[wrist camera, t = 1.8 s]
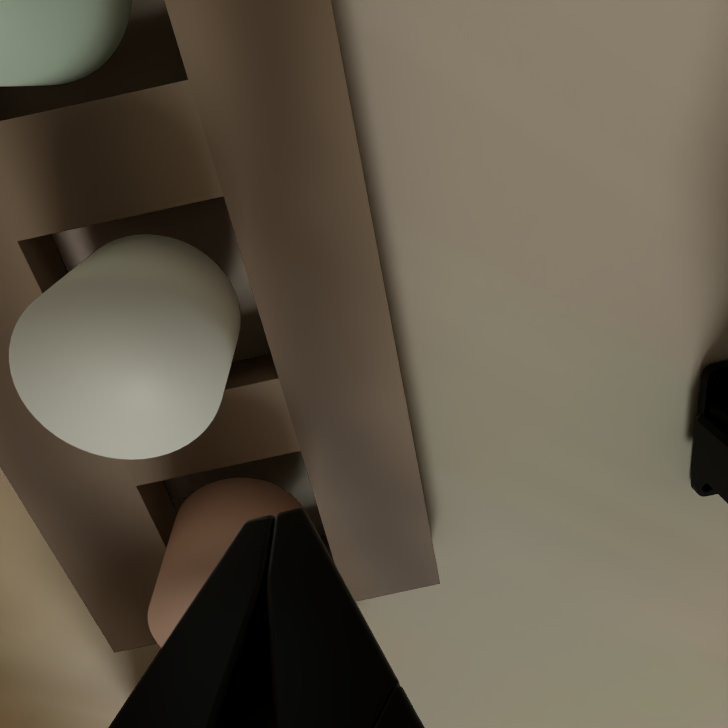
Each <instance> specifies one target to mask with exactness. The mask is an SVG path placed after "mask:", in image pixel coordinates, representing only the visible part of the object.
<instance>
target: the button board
mask: <svg viewBox="0 0 728 728" xmlns="http://www.w3.org/2000/svg"><path fill="white" fill-rule="evenodd" d="M164 1H165V4H166V8H167V11H168V14H169V18H170V21H171V24H172V27H173V31H174V34H175V37H176V41H177V44H178V47H179V51H180V54H181V57H182V60H183V64H184V67H185V70H186V74H187V77H188V80H185V81H180V82H176V83H171V84H167V85H162V86H158V87H153V88H148V89H144V90H139V91H135V92H130V93H126V94H121V95H117V96H112V97H108V98H103V99H98V100H94V101H89V102H85V103H80V104H76V105H71V106H67V107H62V108H58V109H53V110H48V111H44V112H39V113H35V114H30V115H26V116H21V117H17V118H12V119H8V120H3V121H0V467H1V469H2V470H3V472H4V473H5V475H6V477H7V478H8V480H9V482H10V483H11V485H12V486H13V488H14V490H15V491H16V493H17V495H18V496H19V498H20V499H21V501H22V503H23V504H24V506H25V508H26V509H27V511H28V513H29V514H30V516H31V517H32V519H33V521H34V522H35V524H36V526H37V527H38V529H39V530H40V532H41V534H42V535H43V537H44V539H45V540H46V542H47V543H48V545H49V547H50V548H51V550H52V552H53V553H54V555H55V556H56V558H57V560H58V561H59V563H60V565H61V566H62V568H63V569H64V571H65V573H66V574H67V576H68V578H69V579H70V581H71V582H72V584H73V586H74V587H75V589H76V591H77V592H78V594H79V595H80V597H81V599H82V600H83V602H84V604H85V605H86V607H87V608H88V610H89V612H90V613H91V615H92V617H93V618H94V620H95V622H96V623H97V625H98V626H99V628H100V630H101V631H102V633H103V635H104V636H105V638H106V639H107V641H108V643H109V644H110V646H111V648H112V649H113V651H114V652H119V651H124V650H129V649H133V648H138V647H143V646H148V645H152V644H157V642H156V640H155V639H154V637H153V636H152V634H151V631H150V629H149V625H148V609H149V605H150V602H151V598H152V595H153V592H154V588H155V585H156V582H157V578H158V575H159V572H160V568H161V565H162V562H163V558H164V555H165V552H166V548H167V545H168V542H169V538H170V535H171V532H172V528H173V525H174V522H175V518H176V516H177V512H176V509H175V507H174V505H173V503H172V501H171V498H170V496H169V494H168V492H167V490H166V487H165V485H164V483H163V481H162V480H167V479H172V478H176V477H181V476H186V475H190V474H195V473H200V472H204V471H209V470H214V469H218V468H223V467H228V466H232V465H237V464H242V463H246V462H251V461H256V460H260V459H265V458H270V457H274V456H279V455H284V454H288V453H293V452H298V451H301V454H302V457H303V460H304V464H305V467H306V470H307V474H308V477H309V480H310V484H311V487H312V490H313V493H314V497H315V500H316V503H317V507H318V510H319V513H320V517H321V520H322V523H323V526H324V530H325V533H326V536H324V537H320V538H321V540H322V541H323V543H324V545H325V547H326V549H327V551H328V552H329V554H330V556H331V558H332V560H333V562H334V564H335V565H336V567H337V569H338V571H339V573H340V575H341V576H342V578H343V580H344V582H345V584H346V586H347V587H348V589H349V591H350V593H351V595H352V597H353V598H354V600H355V601H360V600H365V599H370V598H374V597H379V596H384V595H388V594H393V593H398V592H403V591H407V590H412V589H417V588H421V587H426V586H431V585H436V584H440V581H439V575H438V570H437V564H436V559H435V554H434V548H433V543H432V538H431V532H430V527H429V522H428V516H427V511H426V506H425V500H424V495H423V490H422V484H421V479H420V474H419V468H418V463H417V458H416V452H415V447H414V442H413V436H412V431H411V426H410V420H409V415H408V410H407V404H406V399H405V394H404V388H403V383H402V378H401V372H400V367H399V361H398V356H397V351H396V345H395V340H394V335H393V329H392V324H391V319H390V313H389V308H388V303H387V297H386V292H385V287H384V281H383V276H382V271H381V265H380V260H379V255H378V249H377V244H376V239H375V233H374V228H373V223H372V217H371V212H370V207H369V201H368V196H367V191H366V185H365V180H364V175H363V169H362V164H361V158H360V153H359V148H358V142H357V137H356V132H355V126H354V121H353V116H352V110H351V105H350V100H349V94H348V89H347V84H346V78H345V73H344V68H343V62H342V57H341V52H340V46H339V41H338V36H337V30H336V25H335V20H334V14H333V9H332V4H331V0H164ZM223 196H224V199H225V203H226V206H227V209H228V213H229V216H230V219H231V222H232V226H233V229H234V232H235V236H236V239H237V242H238V246H239V249H240V252H241V255H242V259H243V262H244V265H245V269H246V272H247V275H248V279H249V282H250V285H251V289H252V292H253V295H254V298H255V302H256V305H257V308H258V312H259V315H260V318H261V322H262V325H263V328H264V332H265V335H266V338H267V341H268V345H269V348H270V351H271V355H267V356H262V357H258V358H253V359H249V360H244V361H239V362H235V363H231V367H230V371H229V374H228V378H227V382H226V386H225V389H224V393H223V397H222V400H221V403H220V406H219V409H218V411H217V413H216V415H215V417H214V419H213V421H212V422H211V423H210V425H209V426H208V427H207V429H206V430H205V431H204V432H203V433H202V434H201V435H200V436H199V437H197V438H196V439H195V440H193V441H192V442H191V443H189V444H188V445H186V446H184V447H182V448H180V449H179V450H176V451H174V452H171V453H169V454H165V455H162V456H158V457H153V458H147V459H133V460H129V459H116V458H109V457H104V456H100V455H96V454H92V453H89V452H87V451H84V450H81V449H79V448H77V447H75V446H73V445H71V444H68V443H67V442H65V441H63V440H62V439H60V438H58V437H57V436H55V435H54V434H53V433H51V432H50V431H49V430H48V429H46V428H45V427H44V426H43V425H42V424H41V423H40V422H39V421H38V420H37V419H36V418H35V417H34V416H33V415H32V414H31V412H30V411H29V410H28V409H27V407H26V406H25V404H24V403H23V401H22V400H21V398H20V396H19V394H18V392H17V390H16V388H15V385H14V382H13V379H12V376H11V371H10V365H9V346H10V341H11V336H12V333H13V330H14V328H15V325H16V323H17V322H18V320H19V318H20V316H21V315H22V313H23V312H24V311H25V310H26V308H27V307H28V306H29V305H30V304H31V303H32V302H33V301H34V300H36V299H37V298H38V297H39V296H40V295H41V294H43V293H44V292H45V291H46V290H48V289H49V288H50V287H51V286H53V285H54V284H55V283H56V282H58V281H59V280H60V279H61V278H62V277H64V276H65V275H66V274H67V273H68V272H67V270H66V268H65V266H64V263H63V261H62V259H61V257H60V255H59V252H58V250H57V248H56V246H55V244H54V241H53V239H52V237H51V235H50V234H53V233H58V232H62V231H67V230H71V229H76V228H80V227H85V226H90V225H94V224H99V223H103V222H108V221H113V220H117V219H122V218H126V217H131V216H136V215H140V214H145V213H149V212H154V211H158V210H163V209H168V208H172V207H177V206H181V205H186V204H191V203H195V202H200V201H204V200H209V199H213V198H218V197H223Z"/></svg>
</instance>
